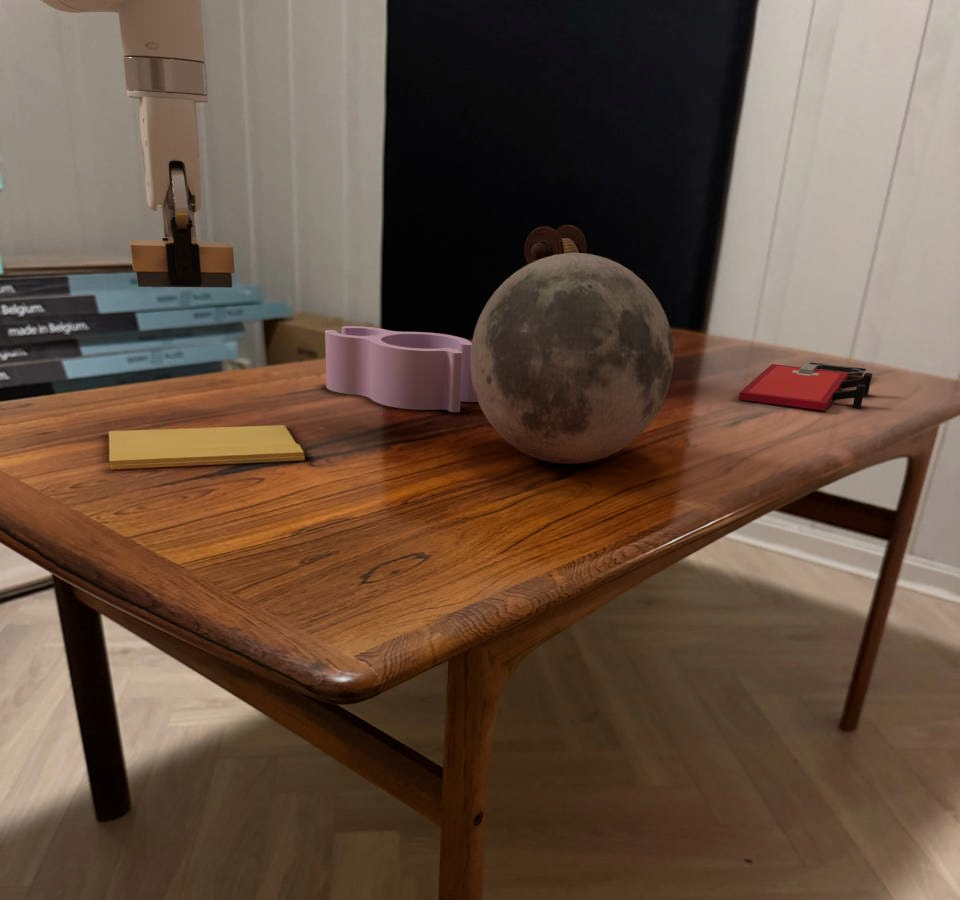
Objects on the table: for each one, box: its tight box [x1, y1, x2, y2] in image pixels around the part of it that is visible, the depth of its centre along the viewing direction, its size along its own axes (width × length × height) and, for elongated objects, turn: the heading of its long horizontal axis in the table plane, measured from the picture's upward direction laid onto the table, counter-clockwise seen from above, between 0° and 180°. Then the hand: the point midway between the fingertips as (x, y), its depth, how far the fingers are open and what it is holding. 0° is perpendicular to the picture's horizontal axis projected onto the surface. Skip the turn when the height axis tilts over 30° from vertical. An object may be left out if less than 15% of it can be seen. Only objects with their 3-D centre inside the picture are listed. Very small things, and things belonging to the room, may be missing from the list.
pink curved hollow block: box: [324, 325, 478, 413], centre depth 119 cm, size 20×12×7 cm, turn 64°
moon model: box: [470, 253, 675, 465], centre depth 94 cm, size 20×20×20 cm
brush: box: [129, 239, 236, 289], centre depth 100 cm, size 10×5×4 cm, turn 109°
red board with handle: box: [738, 362, 873, 411], centre depth 137 cm, size 30×3×15 cm
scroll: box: [524, 224, 588, 265], centre depth 128 cm, size 15×15×20 cm
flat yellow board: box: [108, 424, 306, 471], centre depth 96 cm, size 18×12×1 cm, turn 110°
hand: (183, 280), depth 100 cm, fingers closed on brush, 5 cm apart
